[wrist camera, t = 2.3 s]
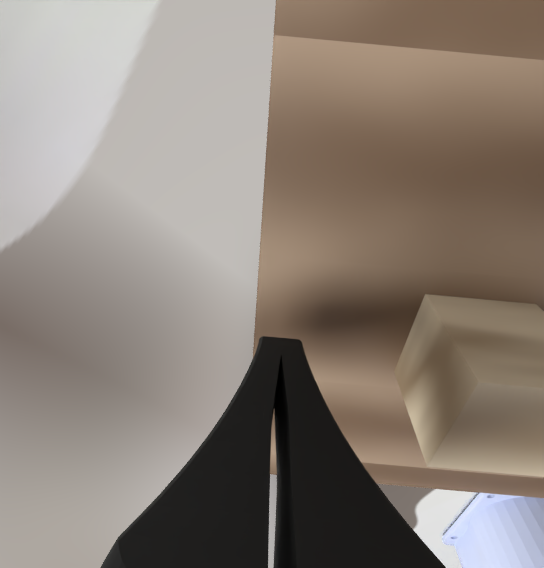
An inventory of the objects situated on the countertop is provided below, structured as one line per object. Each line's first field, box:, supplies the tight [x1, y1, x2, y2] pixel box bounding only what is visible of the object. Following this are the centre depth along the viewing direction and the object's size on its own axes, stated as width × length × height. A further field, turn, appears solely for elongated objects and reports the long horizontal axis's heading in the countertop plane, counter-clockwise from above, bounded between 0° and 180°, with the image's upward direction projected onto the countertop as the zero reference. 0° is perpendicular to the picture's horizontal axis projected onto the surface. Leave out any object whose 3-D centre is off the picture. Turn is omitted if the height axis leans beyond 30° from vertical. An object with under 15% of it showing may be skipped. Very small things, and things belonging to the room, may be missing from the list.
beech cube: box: [394, 294, 544, 477], centre depth 11 cm, size 4×4×4 cm
